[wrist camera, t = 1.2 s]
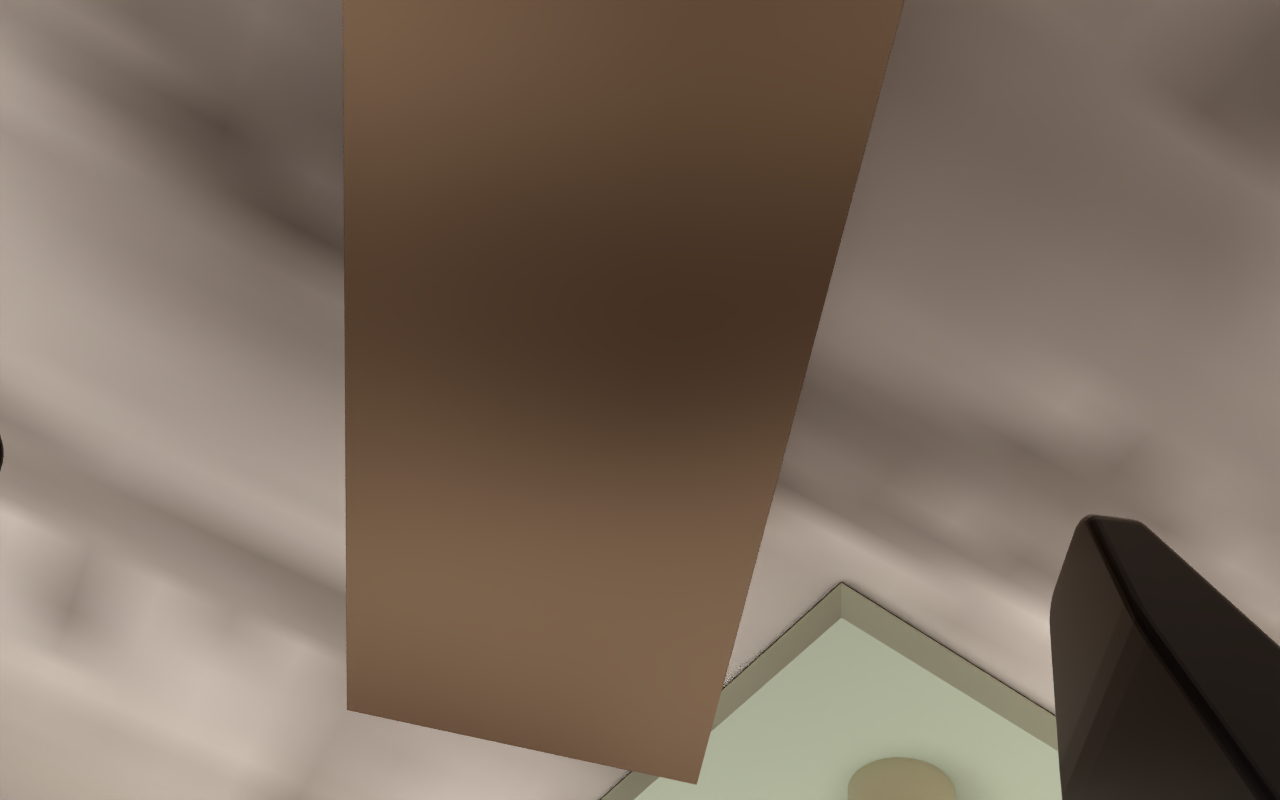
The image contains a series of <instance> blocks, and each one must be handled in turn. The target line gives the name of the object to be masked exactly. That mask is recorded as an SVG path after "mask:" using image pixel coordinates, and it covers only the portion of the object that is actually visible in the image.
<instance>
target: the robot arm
mask: <svg viewBox="0 0 1280 800" xmlns="http://www.w3.org/2000/svg"><path fill="white" fill-rule="evenodd" d="M3 456H4V449H3V443H2V439H1V436H0V470H1V467H2V463H3ZM1050 635H1051V651H1052V666H1053V681H1054V696H1055V711H1056V727H1057V742H1058V757H1059V771H1060V783H1061V794H1062V800H1280V646H1279V645H1278V644H1276V643H1275V642H1274V641H1273V640H1272V639H1271V638H1270V637H1269V636H1268V635H1267V634H1265V633H1264V632H1263V631H1262V630H1261V629H1260V628H1259V627H1258V626H1257V625H1255V624H1254V623H1253V622H1252V621H1251V620H1250V619H1249V618H1248V617H1247V616H1245V615H1244V614H1243V613H1242V612H1241V611H1240V610H1239V609H1238V608H1237V607H1235V606H1234V605H1233V604H1232V603H1231V602H1230V601H1229V600H1228V599H1227V598H1225V597H1224V596H1223V595H1222V594H1221V593H1220V592H1219V591H1218V590H1217V589H1216V588H1214V587H1213V586H1212V585H1211V584H1210V583H1209V582H1208V581H1207V580H1206V579H1204V578H1203V577H1202V576H1201V575H1200V574H1199V573H1198V572H1197V571H1196V570H1194V569H1193V568H1192V567H1191V566H1190V565H1189V564H1188V563H1187V562H1186V561H1184V560H1183V559H1182V558H1181V557H1180V556H1179V555H1178V554H1177V553H1176V552H1174V551H1173V550H1172V549H1171V548H1170V547H1169V546H1168V545H1167V544H1166V543H1165V542H1163V541H1162V540H1161V539H1160V538H1159V537H1158V536H1157V535H1156V534H1155V533H1153V532H1152V531H1151V530H1150V529H1149V528H1148V527H1147V526H1145V525H1144V524H1143V523H1141V522H1139V521H1137V520H1133V519H1125V518H1118V517H1110V516H1102V515H1095V514H1090V515H1088V516H1085V517H1084V518H1082V519H1081V521H1080V522H1079V524H1078V525H1077V527H1076V529H1075V532H1074V534H1073V537H1072V540H1071V543H1070V546H1069V549H1068V552H1067V555H1066V557H1065V560H1064V563H1063V566H1062V569H1061V572H1060V575H1059V578H1058V580H1057V583H1056V586H1055V589H1054V592H1053V596H1052V601H1051V608H1050Z"/></svg>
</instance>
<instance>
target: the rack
mask: <svg viewBox="0 0 1280 800" xmlns="http://www.w3.org/2000/svg"><path fill="white" fill-rule="evenodd" d="M601 800H1062V794H1061V783H1060V771H1059V757H1058V742H1057V727H1056V717H1055V716H1054V715H1052V714H1050V713H1049V712H1047V711H1046V710H1044V709H1042V708H1041V707H1039V706H1038V705H1036V704H1034V703H1033V702H1031V701H1030V700H1028V699H1026V698H1025V697H1023V696H1022V695H1020V694H1018V693H1017V692H1015V691H1014V690H1012V689H1010V688H1009V687H1007V686H1006V685H1004V684H1002V683H1001V682H999V681H998V680H996V679H994V678H993V677H991V676H990V675H988V674H986V673H985V672H983V671H982V670H980V669H979V668H977V667H975V666H974V665H972V664H971V663H969V662H967V661H966V660H964V659H963V658H961V657H959V656H958V655H956V654H955V653H953V652H951V651H950V650H948V649H947V648H945V647H943V646H942V645H940V644H939V643H937V642H935V641H934V640H932V639H931V638H929V637H927V636H926V635H924V634H923V633H921V632H919V631H918V630H916V629H915V628H913V627H911V626H910V625H908V624H907V623H905V622H903V621H902V620H900V619H899V618H897V617H895V616H894V615H892V614H891V613H889V612H887V611H886V610H884V609H883V608H881V607H879V606H878V605H876V604H875V603H873V602H871V601H870V600H868V599H867V598H865V597H863V596H862V595H860V594H859V593H857V592H855V591H854V590H852V589H851V588H849V587H847V586H846V585H844V584H843V583H841V584H840V585H838V586H837V587H836V588H835V589H834V590H833V591H832V592H831V593H830V594H828V595H827V596H826V597H825V598H824V599H823V600H822V601H821V602H820V603H818V604H817V605H816V606H815V607H814V608H813V609H812V610H811V611H810V612H808V613H807V614H806V615H805V616H804V617H803V618H802V619H801V620H800V621H798V622H797V623H796V624H795V625H794V626H793V627H792V628H791V629H790V630H788V631H787V632H786V633H785V634H784V635H783V636H782V637H781V638H780V639H779V640H777V641H776V642H775V643H774V644H773V645H772V646H771V647H770V648H769V649H767V650H766V651H765V652H764V653H763V654H762V655H761V656H760V657H759V658H757V659H756V660H755V661H754V662H753V663H752V664H751V665H750V666H749V667H747V668H746V669H745V670H744V671H743V672H742V673H741V674H740V675H739V676H737V677H736V678H735V679H734V680H733V681H732V682H731V683H730V684H729V685H727V686H726V687H725V688H724V689H723V690H722V691H721V695H720V699H719V703H718V706H717V710H716V714H715V718H714V722H713V725H712V729H711V733H710V737H709V740H708V744H707V748H706V752H705V756H704V759H703V763H702V767H701V771H700V774H699V778H698V782H697V785H695V784H690V783H686V782H681V781H676V780H672V779H667V778H662V777H658V776H653V775H648V774H644V773H639V772H634V771H632V772H631V773H630V774H629V775H628V776H626V777H625V778H624V779H623V780H622V781H621V782H620V783H619V784H618V785H617V786H615V787H614V788H613V789H612V790H611V791H610V792H609V793H608V794H607V795H605V796H604V797H603V798H602V799H601Z"/></svg>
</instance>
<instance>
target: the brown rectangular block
mask: <svg viewBox="0 0 1280 800" xmlns="http://www.w3.org/2000/svg"><path fill="white" fill-rule="evenodd" d="M903 3H904V0H343V129H344V295H345V460H346V626H347V710H350V711H355V712H359V713H364V714H369V715H373V716H378V717H383V718H387V719H392V720H397V721H401V722H406V723H411V724H415V725H420V726H425V727H429V728H434V729H439V730H443V731H448V732H453V733H457V734H462V735H467V736H471V737H476V738H481V739H485V740H490V741H495V742H499V743H504V744H509V745H513V746H518V747H523V748H527V749H532V750H537V751H541V752H546V753H551V754H555V755H560V756H564V757H569V758H574V759H578V760H583V761H588V762H592V763H597V764H602V765H606V766H611V767H616V768H620V769H625V770H630V771H634V772H639V773H644V774H648V775H653V776H658V777H662V778H667V779H672V780H676V781H681V782H686V783H690V784H695V785H697V782H698V778H699V774H700V771H701V767H702V763H703V759H704V756H705V752H706V748H707V744H708V740H709V737H710V733H711V729H712V725H713V722H714V718H715V714H716V710H717V706H718V703H719V699H720V695H721V691H722V688H723V684H724V680H725V676H726V672H727V669H728V665H729V661H730V657H731V654H732V650H733V646H734V642H735V638H736V635H737V631H738V627H739V623H740V620H741V616H742V612H743V608H744V604H745V601H746V597H747V593H748V589H749V585H750V582H751V578H752V574H753V570H754V567H755V563H756V559H757V555H758V551H759V548H760V544H761V540H762V536H763V533H764V529H765V525H766V521H767V517H768V514H769V510H770V506H771V502H772V499H773V495H774V491H775V487H776V483H777V480H778V476H779V472H780V468H781V465H782V461H783V457H784V453H785V449H786V446H787V442H788V438H789V434H790V431H791V427H792V423H793V419H794V415H795V412H796V408H797V404H798V400H799V397H800V393H801V389H802V385H803V381H804V378H805V374H806V370H807V366H808V362H809V359H810V355H811V351H812V347H813V344H814V340H815V336H816V332H817V328H818V325H819V321H820V317H821V313H822V310H823V306H824V302H825V298H826V294H827V291H828V287H829V283H830V279H831V276H832V272H833V268H834V264H835V260H836V257H837V253H838V249H839V245H840V242H841V238H842V234H843V230H844V226H845V223H846V219H847V215H848V211H849V208H850V204H851V200H852V196H853V192H854V189H855V185H856V181H857V177H858V173H859V170H860V166H861V162H862V158H863V155H864V151H865V147H866V143H867V139H868V136H869V132H870V128H871V124H872V121H873V117H874V113H875V109H876V105H877V102H878V98H879V94H880V90H881V87H882V83H883V79H884V75H885V71H886V68H887V64H888V60H889V56H890V53H891V49H892V45H893V41H894V37H895V34H896V30H897V26H898V22H899V19H900V15H901V11H902V7H903Z"/></svg>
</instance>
